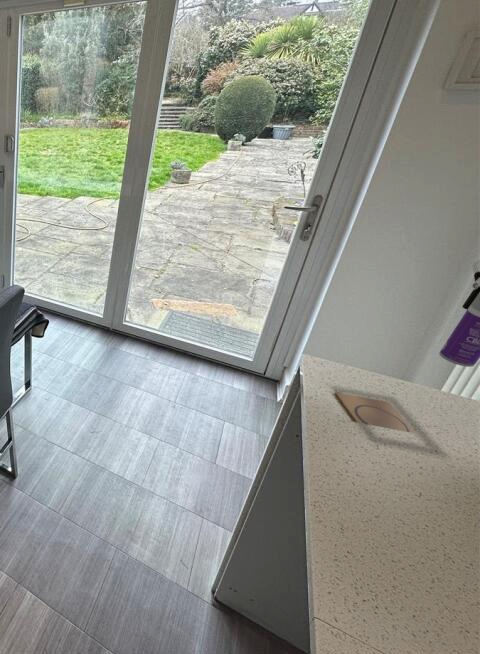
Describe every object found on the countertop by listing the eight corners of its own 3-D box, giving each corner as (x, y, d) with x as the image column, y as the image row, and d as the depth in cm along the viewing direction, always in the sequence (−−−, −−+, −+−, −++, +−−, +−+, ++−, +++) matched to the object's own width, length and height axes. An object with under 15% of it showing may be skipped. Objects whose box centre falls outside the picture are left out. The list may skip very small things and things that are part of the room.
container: (451, 364, 77) (498, 296, 70) (432, 349, 81) (475, 283, 74) (481, 368, 76) (532, 299, 69) (461, 353, 80) (506, 286, 73)
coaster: (388, 403, 89) (389, 401, 88) (434, 456, 77) (435, 454, 76) (334, 393, 91) (335, 391, 91) (371, 443, 79) (372, 441, 79)
